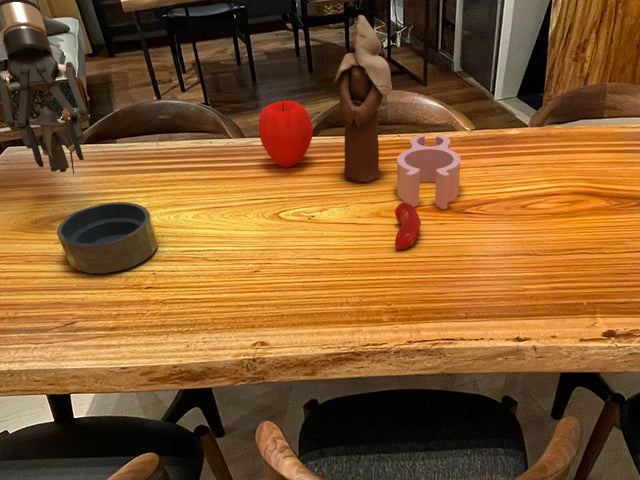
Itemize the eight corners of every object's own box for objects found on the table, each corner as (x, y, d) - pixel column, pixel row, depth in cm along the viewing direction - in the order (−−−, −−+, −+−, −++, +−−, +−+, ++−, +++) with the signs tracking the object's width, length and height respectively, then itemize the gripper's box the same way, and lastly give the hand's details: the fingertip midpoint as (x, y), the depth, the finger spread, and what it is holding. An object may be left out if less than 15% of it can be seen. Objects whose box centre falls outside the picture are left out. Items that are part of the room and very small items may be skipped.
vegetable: (385, 202, 116) (392, 242, 109) (411, 192, 115) (420, 231, 107) (393, 221, 120) (401, 260, 112) (419, 210, 118) (429, 249, 111)
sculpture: (401, 164, 138) (400, 10, 118) (386, 189, 129) (383, 27, 109) (351, 159, 140) (343, 8, 120) (333, 184, 131) (321, 25, 111)
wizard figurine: (37, 174, 115) (17, 106, 107) (50, 163, 119) (32, 97, 111) (82, 177, 115) (66, 109, 107) (94, 166, 119) (79, 100, 111)
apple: (310, 176, 134) (304, 113, 125) (258, 175, 136) (247, 112, 127) (320, 154, 143) (314, 93, 134) (270, 153, 144) (261, 93, 135)
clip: (401, 165, 137) (401, 134, 132) (458, 166, 136) (460, 134, 131) (395, 208, 122) (394, 174, 118) (458, 209, 121) (460, 175, 117)
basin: (54, 275, 108) (40, 245, 104) (90, 231, 119) (79, 202, 115) (141, 276, 107) (131, 245, 103) (169, 231, 118) (161, 202, 114)
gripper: (85, 44, 118) (118, 159, 118) (-25, 58, 114) (9, 178, 113) (76, 19, 111) (111, 141, 111) (-42, 32, 106) (-5, 161, 106)
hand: (60, 160), depth 112 cm, fingers closed on wizard figurine, 6 cm apart
